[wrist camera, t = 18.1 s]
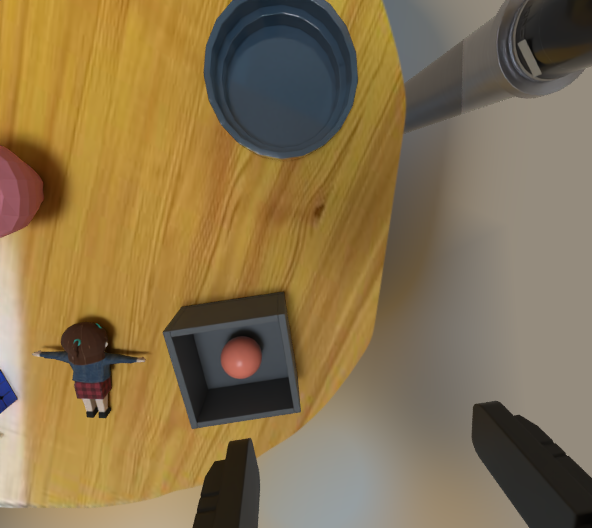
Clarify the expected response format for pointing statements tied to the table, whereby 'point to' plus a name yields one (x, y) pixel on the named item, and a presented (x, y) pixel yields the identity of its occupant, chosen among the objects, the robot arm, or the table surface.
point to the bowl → (280, 75)
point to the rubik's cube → (5, 394)
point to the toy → (89, 364)
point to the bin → (207, 360)
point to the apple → (17, 192)
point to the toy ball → (241, 357)
